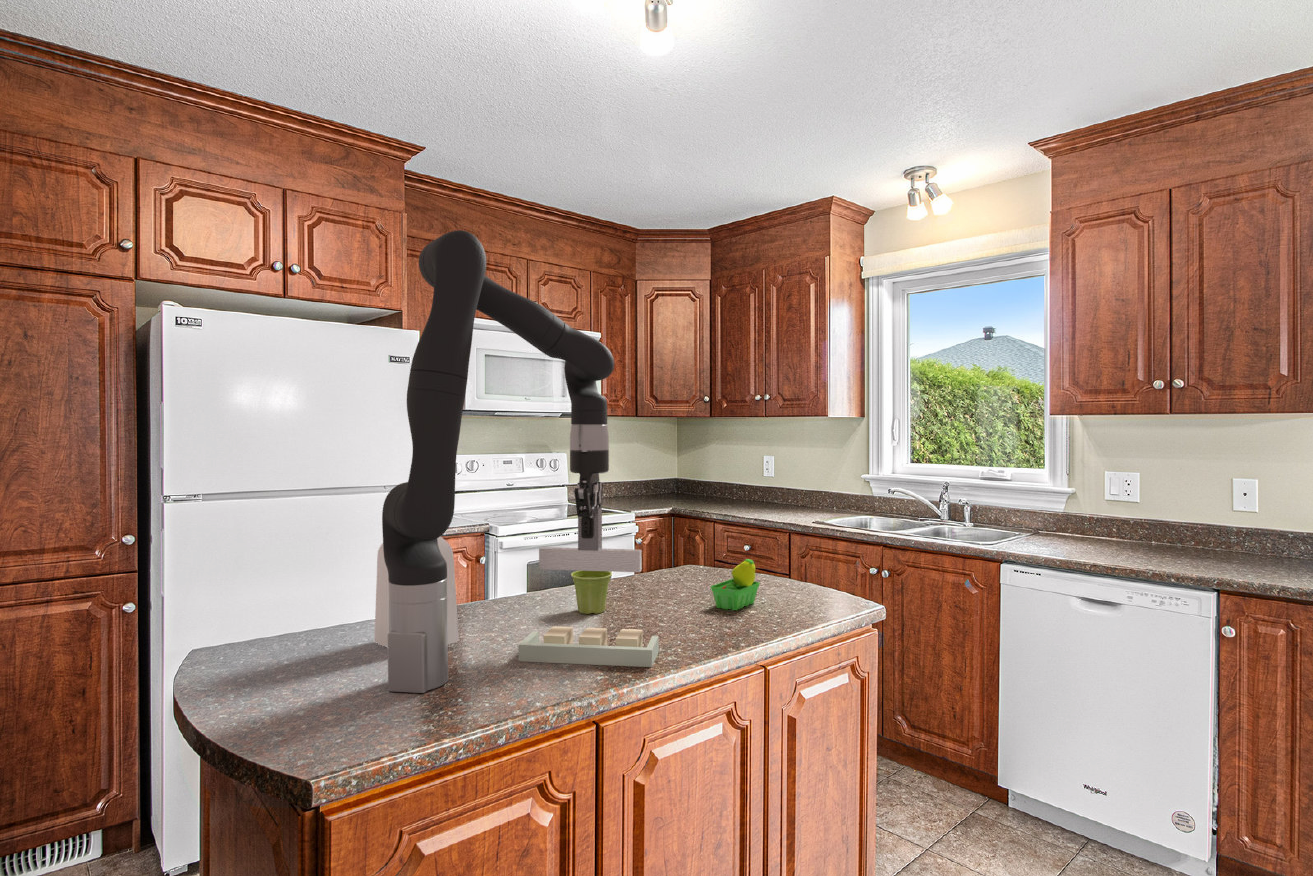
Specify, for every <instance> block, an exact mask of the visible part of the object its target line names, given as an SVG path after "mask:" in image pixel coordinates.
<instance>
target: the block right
mask: <svg viewBox="0 0 1313 876" xmlns="http://www.w3.org/2000/svg"><path fill="white" fill-rule="evenodd" d="M643 632H644V631H643V629H635V628H633V629H632V628H629V629H628V628H622V629H620V631H619V632H618V634H617V636H616V637H615V646H625V647H644V646H643V644H644V643H643V642H644V641H643V640H644V636H643V634H644V633H643Z"/></svg>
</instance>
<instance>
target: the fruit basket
mask: <svg viewBox="0 0 1313 876" xmlns="http://www.w3.org/2000/svg"><path fill="white" fill-rule="evenodd" d="M731 575H732V578H730V579H727V580H725V581H722V582H719V583H716V584H713V585H710V589H711V591H712V595H713V598H714V599H713V600H714V602H715V605H716V608H717V609H723V610H728V609H732V610H731V611H734V610H736V611H738V609H739V610H740V609H743V607H744V606H746V607H748V606H750V605H753V604H754V603H755V600H756V596H757V593H758V589H759V586H760V584H761V582H760V581H759V582H758V581H755V580H756V565H755V562H754V560H753V559H752V558H751V559H749V558H747V559H744V560H743V561H742V562H741V563H740V564H737V565H736V566H735V567H734V568H733V569H732V571H731ZM749 604H750V605H749ZM744 608H745V607H744Z"/></svg>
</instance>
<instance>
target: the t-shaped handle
mask: <svg viewBox="0 0 1313 876" xmlns="http://www.w3.org/2000/svg"><path fill="white" fill-rule="evenodd" d="M584 510H587V508H586V507H584ZM642 552H643V551H642V549H632V548H631V549H629V548H626V549H624V548H603V507H602V506H601V507H594V517H593V537H592V538H591V539H584V538H582V537H581V519H580V517H578V516H577V547H559V546H558V547H557V546H555V547H554V546H553V547H552V546H541V547H539V548H538V569H539V570H551V571H552V570H556V571H559V570H561V571H580V570H582V571H610V572H612V573H613V572H616V573H617V572H621V573H641V571H643V570H642V569H643V568H642V567H643V565H642V564H643V563H642V562H643V559H642V554H643V553H642Z"/></svg>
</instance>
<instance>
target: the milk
mask: <svg viewBox="0 0 1313 876" xmlns="http://www.w3.org/2000/svg"><path fill="white" fill-rule="evenodd" d="M437 541H438V547H439V550H440V552H441V554H442V556H443V558H444V559H445V561H446V563H447V619H448V646H449V645H451V644H452V645H453V644H456V643H459V642H460V639H459V623H458V622H459V620H458V605H457V603H458V602H457V589H456V588H457V587H456V576H455V575H456V573H455V561H454V560H455V557H454V556H455V555H454V551H453V548H452V546H451V545H450V543H449V542H448V541H447V540H445V539H444V538H443V537H442V536H440V537H439V538H437ZM376 562H377V563H376V586H375V587H376V589H375V610H374V611H375V612H374V613H375V616H374V617H375V618H374V641H375V642H377V643H378V644H377V643H376V644H377V645H379V644H380V645H379V646H381V645H382V646H381V647H383V646H386V647H387V648H386V649H388V633H389V581H388V570H387V567H386V564H385V560H384V550H383V542H382V543H381V544H380V546H379V548H378V550H377V561H376ZM374 641H373V642H374ZM458 641H459V642H458Z"/></svg>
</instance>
